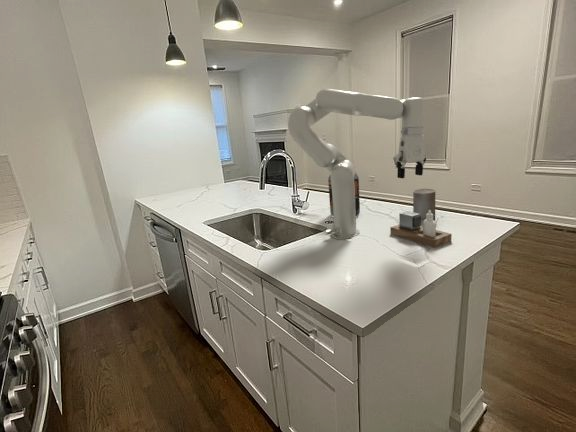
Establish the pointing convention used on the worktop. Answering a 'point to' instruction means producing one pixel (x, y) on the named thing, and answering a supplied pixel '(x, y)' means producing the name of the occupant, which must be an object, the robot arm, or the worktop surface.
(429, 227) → the eye dropper bottle
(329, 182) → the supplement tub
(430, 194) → the pillar candle
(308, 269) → the worktop surface
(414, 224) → the block
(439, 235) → the wooden tray
